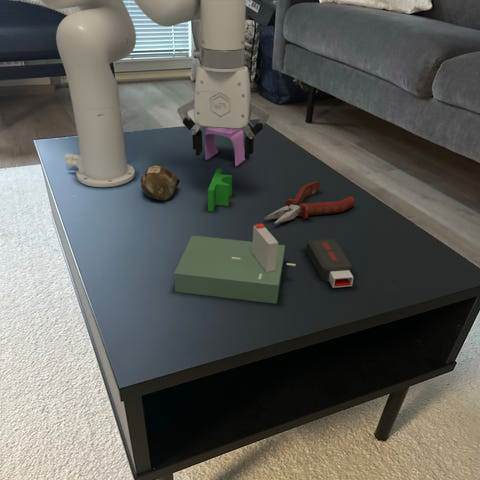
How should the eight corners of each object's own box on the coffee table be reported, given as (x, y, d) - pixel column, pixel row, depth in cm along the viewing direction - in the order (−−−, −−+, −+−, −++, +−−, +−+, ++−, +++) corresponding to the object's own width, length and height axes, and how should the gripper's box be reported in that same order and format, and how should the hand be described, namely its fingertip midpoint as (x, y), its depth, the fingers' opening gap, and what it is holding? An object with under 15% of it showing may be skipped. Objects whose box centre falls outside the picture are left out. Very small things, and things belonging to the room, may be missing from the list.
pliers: (248, 216, 99) (248, 203, 97) (314, 189, 110) (315, 178, 108) (290, 238, 93) (292, 226, 91) (356, 208, 104) (358, 196, 102)
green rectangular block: (175, 291, 78) (173, 272, 76) (192, 252, 87) (191, 234, 85) (290, 305, 76) (292, 285, 74) (295, 264, 86) (297, 245, 83)
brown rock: (153, 169, 109) (127, 193, 103) (163, 148, 104) (136, 172, 98) (181, 191, 110) (157, 216, 104) (192, 171, 105) (167, 196, 99)
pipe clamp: (226, 213, 100) (226, 191, 97) (207, 211, 100) (207, 189, 97) (233, 189, 109) (234, 169, 106) (216, 188, 109) (216, 167, 106)
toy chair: (217, 150, 127) (217, 86, 118) (248, 156, 124) (251, 92, 115) (201, 160, 121) (200, 95, 112) (234, 167, 118) (236, 101, 109)
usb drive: (333, 249, 90) (335, 235, 88) (357, 287, 81) (360, 272, 79) (305, 251, 89) (307, 237, 88) (326, 289, 80) (329, 275, 78)
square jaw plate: (275, 270, 77) (278, 240, 74) (266, 272, 77) (268, 242, 74) (260, 251, 82) (262, 222, 78) (251, 253, 81) (253, 224, 78)
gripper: (169, 60, 86) (175, 158, 96) (269, 65, 84) (264, 165, 94) (180, 52, 92) (184, 145, 102) (274, 57, 90) (268, 151, 100)
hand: (223, 155), depth 98 cm, fingers open, 9 cm apart
